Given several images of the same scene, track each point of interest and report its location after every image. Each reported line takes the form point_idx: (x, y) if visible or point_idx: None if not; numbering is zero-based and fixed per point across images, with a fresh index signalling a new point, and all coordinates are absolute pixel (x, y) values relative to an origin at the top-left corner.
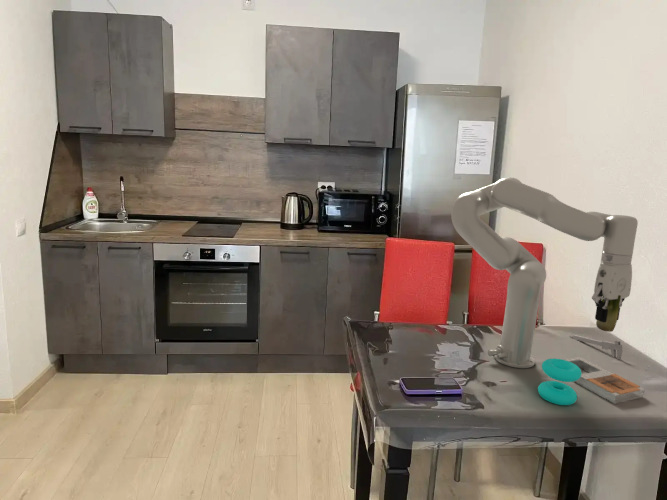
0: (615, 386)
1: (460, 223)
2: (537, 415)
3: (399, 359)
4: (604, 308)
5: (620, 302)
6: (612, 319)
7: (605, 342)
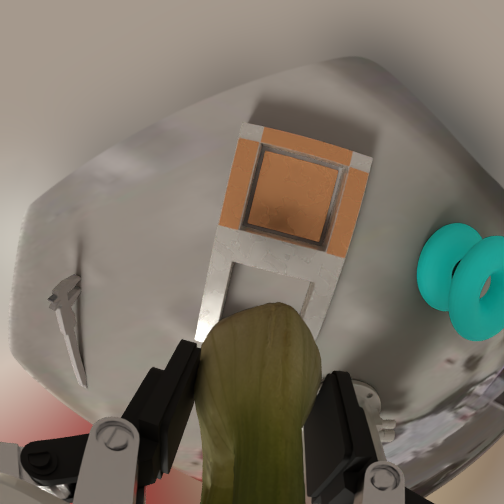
0: (253, 201)
1: None
2: None
3: (464, 448)
4: (381, 470)
5: (114, 465)
6: (307, 359)
7: (65, 326)
